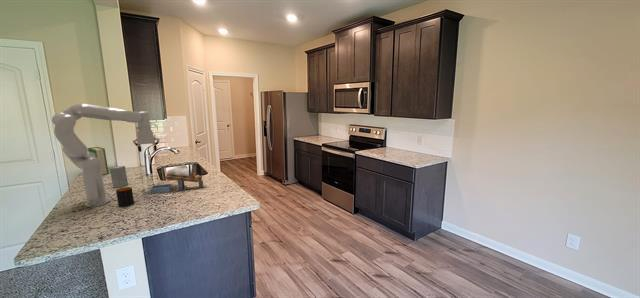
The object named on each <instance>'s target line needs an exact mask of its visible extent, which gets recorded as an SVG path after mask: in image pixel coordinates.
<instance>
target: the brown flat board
mask: <svg viewBox="0 0 640 298" xmlns="http://www.w3.org/2000/svg"><path fill="white" fill-rule="evenodd" d="M199 176H200V179H195V176H194V175H193V176H191V175H185V174H184V175H183V174H178V172H175V171H169V172H168V173H167V174H166V175H164V180H169V181H177V180H181V181H184V182H188V183H189V182H190V183H198V184H199V183H201V181H203V180H202V179H203V174H200V175H199Z"/></svg>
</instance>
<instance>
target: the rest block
mask: <svg viewBox="0 0 640 298" xmlns="http://www.w3.org/2000/svg"><path fill="white" fill-rule="evenodd" d="M202 187H203V188H204V181H203V180H201V183H199V182H198V188H199V189H203V188H202Z"/></svg>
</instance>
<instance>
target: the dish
mask: <svg viewBox="0 0 640 298" xmlns="http://www.w3.org/2000/svg"><path fill="white" fill-rule="evenodd" d="M172 188H173V184H172V183H164V184H154V185H152V186H151V187H150V188H149V195H154V194H155V195H156V193H157V194H164V193H165V192H166V193H171V191H172V190H173V189H172ZM171 189H172V190H171ZM166 193H165V194H166Z"/></svg>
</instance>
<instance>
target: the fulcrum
mask: <svg viewBox="0 0 640 298" xmlns="http://www.w3.org/2000/svg"><path fill="white" fill-rule="evenodd" d="M176 181H177V189H175V193H179V192H178V191H183V192H186V190H187V188H188V187H187V186H189V185H188V184H187V185H186V184H185V181H181V180H176ZM185 189H186V190H185Z"/></svg>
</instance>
